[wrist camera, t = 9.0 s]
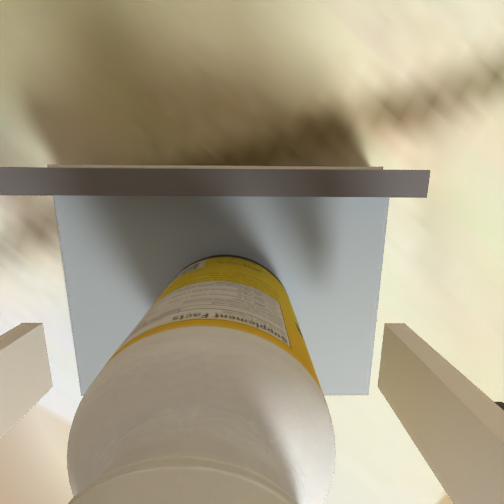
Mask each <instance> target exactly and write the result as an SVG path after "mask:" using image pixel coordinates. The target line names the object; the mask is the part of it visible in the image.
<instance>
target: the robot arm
mask: <svg viewBox="0 0 504 504" xmlns="http://www.w3.org/2000/svg"><path fill="white" fill-rule="evenodd" d="M52 387H53V385H52V379H51V373H50V366H49V360H48V354H47V348H46V342H45V336H44V329H43V323H21V324H20V325H18V326H16V327H15V328H13V329H11V330H10V331H8V332H6V333H5V334H3V335H1V336H0V439H1V438H2V437H3V436H4V435H5V434H6V433H7V432H8V431H9V430H10V429H11V428H12V427H13V426H14V425H15V424H16V423H17V422H18V421H19V420H20V419H21V418H22V417H23V416H24V415H25V414H26V413H27V412H28V411H29V410H30V409H31V408H32V407H33V406H34V405H35V404H36V403H37V402H38V401H39V400H40V399H41V398H42V397H43V396H44V395H45V394H46V393H47V392H48V391H49V390H50V389H51V388H52ZM378 387H379V389H380V391H381V392H382V394H383V395H384V397H385V398H386V400H387V401H388V403H389V404H390V406H391V408H392V409H393V411H394V412H395V414H396V415H397V417H398V418H399V420H400V421H401V423H402V425H403V426H404V428H405V429H406V431H407V432H408V434H409V435H410V437H411V439H412V440H413V442H414V443H415V445H416V446H417V448H418V449H419V451H420V452H421V454H422V456H423V457H424V459H425V460H426V462H427V463H428V465H429V466H430V468H431V469H432V471H433V473H434V474H435V476H436V477H437V479H438V480H439V482H440V483H441V485H442V487H443V488H444V490H445V491H446V493H447V494H448V496H449V497H450V499H451V500H452V502H453V504H504V403H503V402H493V401H492V400H491V399H490V398H489V397H488V396H487V395H485V394H484V393H483V392H482V391H481V390H480V389H479V388H477V387H476V386H475V385H474V384H473V383H472V382H471V381H470V380H468V379H467V378H466V377H465V376H464V375H463V374H462V373H460V372H459V371H458V370H457V369H456V368H455V367H454V366H452V365H451V364H450V363H449V362H448V361H447V360H446V359H444V358H443V357H442V356H441V355H440V354H439V353H438V352H436V351H435V350H434V349H433V348H432V347H431V346H430V345H428V344H427V343H426V342H425V341H424V340H423V339H422V338H420V337H419V336H418V335H417V334H416V333H415V332H414V331H413V330H411V329H410V328H409V327H408V326H407V325H406V324H405V323H385V326H384V335H383V343H382V352H381V361H380V370H379V379H378Z"/></svg>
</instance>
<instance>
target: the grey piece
mask: <svg viewBox="0 0 504 504" xmlns="http://www.w3.org/2000/svg"><path fill="white" fill-rule="evenodd" d="M47 166H48V168H28V167H0V195H53V196H54V203H55V210H56V217H57V225H58V232H59V239H60V246H61V253H62V261H63V268H64V275H65V282H66V289H67V297H68V304H69V311H70V318H71V325H72V333H73V340H74V347H75V354H76V361H77V369H78V376H79V383H80V390H81V396H84V395H85V393H86V391H87V389H88V388H89V386H90V385H91V384H92V382H93V381H94V379H95V378H96V377H97V375H98V374H99V373H100V371H101V370H102V369H103V367H104V366H105V365H106V363H107V362H108V360H109V359H110V358H111V356H112V355H113V354H114V353H115V351H116V350H117V349H118V348H119V346H120V345H121V344H122V343H123V342H124V340H125V339H126V338H127V337H128V335H129V334H130V333H131V332H132V330H133V329H134V328H135V327H136V326H137V324H138V323H139V322H140V321H141V319H142V318H143V317H144V315H145V314H146V313H147V312H148V310H149V309H150V308H151V307H152V305H153V304H154V303H155V302H156V300H157V299H158V298H159V297H160V295H161V294H162V293H163V291H164V290H165V289H166V287H167V286H168V285H169V283H170V282H171V281H172V280H173V278H174V277H175V276H176V275H177V274H178V273H179V272H180V271H181V270H182V269H184V268H185V267H186V266H188V265H189V264H191V263H193V262H195V261H196V260H199V259H201V258H204V257H207V256H212V255H217V254H234V255H240V256H244V257H247V258H250V259H253V260H255V261H257V262H259V263H261V264H262V265H264V266H265V267H267V268H268V269H269V270H270V271H271V272H273V273H274V274H275V275H276V277H277V278H278V279H279V280H280V282H281V283H282V285H283V286H284V288H285V290H286V292H287V294H288V297H289V299H290V302H291V305H292V308H293V310H294V313H295V316H296V318H297V321H298V324H299V327H300V330H301V333H302V335H303V338H304V341H305V344H306V347H307V349H308V352H309V355H310V358H311V361H312V364H313V366H314V369H315V372H316V375H317V378H318V381H319V383H320V386H321V389H322V392H323V395H368V394H369V385H370V375H371V366H372V356H373V347H374V337H375V328H376V318H377V309H378V300H379V290H380V281H381V271H382V262H383V252H384V243H385V233H386V224H387V215H388V205H389V197H420V198H427V192H428V184H429V177H430V170H383V167H340V166H191V165H47Z"/></svg>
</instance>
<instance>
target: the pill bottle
mask: <svg viewBox="0 0 504 504" xmlns="http://www.w3.org/2000/svg"><path fill="white" fill-rule="evenodd" d="M335 454H336V452H335V435H334V430H333V425H332V420H331V416H330V413H329V409H328V406H327V403H326V400H325V398H324V395H323V392H322V389H321V386H320V383H319V381H318V378H317V375H316V372H315V369H314V366H313V364H312V361H311V358H310V355H309V352H308V349H307V347H306V344H305V341H304V338H303V335H302V333H301V330H300V327H299V324H298V321H297V318H296V316H295V313H294V310H293V308H292V305H291V302H290V299H289V297H288V294H287V292H286V290H285V288H284V286H283V285H282V283H281V282H280V280H279V279H278V278H277V277H276V275H275V274H274V273H273V272H271V271H270V270H269V269H268V268H267V267H265V266H264V265H262V264H261V263H259V262H257V261H255V260H253V259H250V258H247V257H244V256H240V255H234V254H217V255H212V256H207V257H204V258H201V259H199V260H196V261H195V262H193V263H191V264H189V265H188V266H186V267H185V268H184V269H182V270H181V271H180V272H179V273H178V274H177V275H176V276H175V277H174V278H173V280H172V281H171V282H170V283H169V285H168V286H167V287H166V289H165V290H164V291H163V293H162V294H161V295H160V297H159V298H158V299H157V300H156V302H155V303H154V304H153V305H152V307H151V308H150V309H149V310H148V312H147V313H146V314H145V315H144V317H143V318H142V319H141V321H140V322H139V323H138V324H137V326H136V327H135V328H134V329H133V330H132V332H131V333H130V334H129V335H128V337H127V338H126V339H125V340H124V342H123V343H122V344H121V345H120V346H119V348H118V349H117V350H116V351H115V353H114V354H113V355H112V356H111V358H110V359H109V360H108V362H107V363H106V365H105V366H104V367H103V369H102V370H101V371H100V373H99V374H98V375H97V377H96V378H95V379H94V381H93V382H92V384H91V385H90V386H89V388H88V389H87V391H86V393H85V395H84V397H83V398H82V400H81V402H80V404H79V407H78V409H77V411H76V414H75V417H74V420H73V423H72V426H71V430H70V434H69V441H68V450H67V469H68V476H69V483H70V486H71V490H72V494H73V499H72V500H71V501H70V502H69V503H68V504H324V502H325V500H326V497H327V495H328V492H329V489H330V486H331V482H332V478H333V473H334V468H335Z"/></svg>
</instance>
